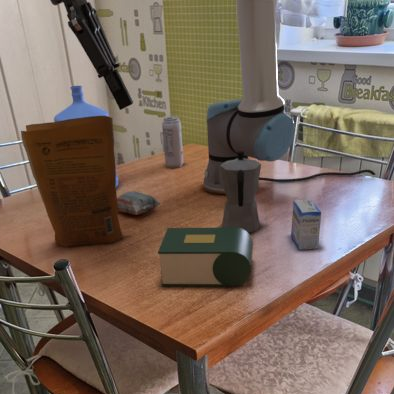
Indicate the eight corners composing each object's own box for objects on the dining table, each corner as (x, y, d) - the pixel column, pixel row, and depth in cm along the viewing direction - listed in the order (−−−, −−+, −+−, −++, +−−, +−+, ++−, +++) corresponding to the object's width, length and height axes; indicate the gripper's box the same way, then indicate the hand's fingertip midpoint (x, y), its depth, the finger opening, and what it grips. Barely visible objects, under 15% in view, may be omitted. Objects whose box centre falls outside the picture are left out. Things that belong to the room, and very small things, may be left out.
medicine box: (290, 236, 121) (292, 200, 116) (309, 235, 121) (312, 198, 116) (298, 250, 114) (301, 212, 109) (318, 248, 114) (322, 211, 109)
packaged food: (138, 221, 133) (136, 202, 130) (107, 212, 140) (105, 194, 137) (161, 211, 139) (159, 193, 136) (131, 203, 145) (129, 186, 142)
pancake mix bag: (129, 244, 122) (111, 117, 106) (47, 252, 121) (17, 124, 105) (129, 233, 127) (112, 110, 111) (51, 240, 126) (22, 117, 110)
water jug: (84, 178, 167) (67, 81, 150) (127, 181, 161) (114, 81, 145) (57, 194, 155) (35, 91, 139) (103, 198, 150) (85, 92, 134)
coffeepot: (222, 217, 133) (220, 144, 122) (259, 216, 132) (260, 142, 121) (220, 242, 120) (218, 163, 110) (261, 241, 119) (262, 161, 109)
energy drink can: (186, 166, 172) (183, 117, 163) (170, 169, 170) (166, 120, 161) (178, 162, 176) (174, 114, 168) (162, 165, 174) (158, 117, 165)
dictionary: (252, 260, 112) (252, 226, 107) (251, 286, 102) (251, 251, 97) (170, 260, 114) (167, 227, 109) (161, 286, 104) (157, 251, 100)
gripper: (52, -21, 95) (116, 106, 108) (30, -16, 85) (103, 123, 98) (86, -42, 93) (147, 90, 106) (68, -39, 83) (138, 106, 95)
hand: (126, 106), depth 102 cm, fingers closed
